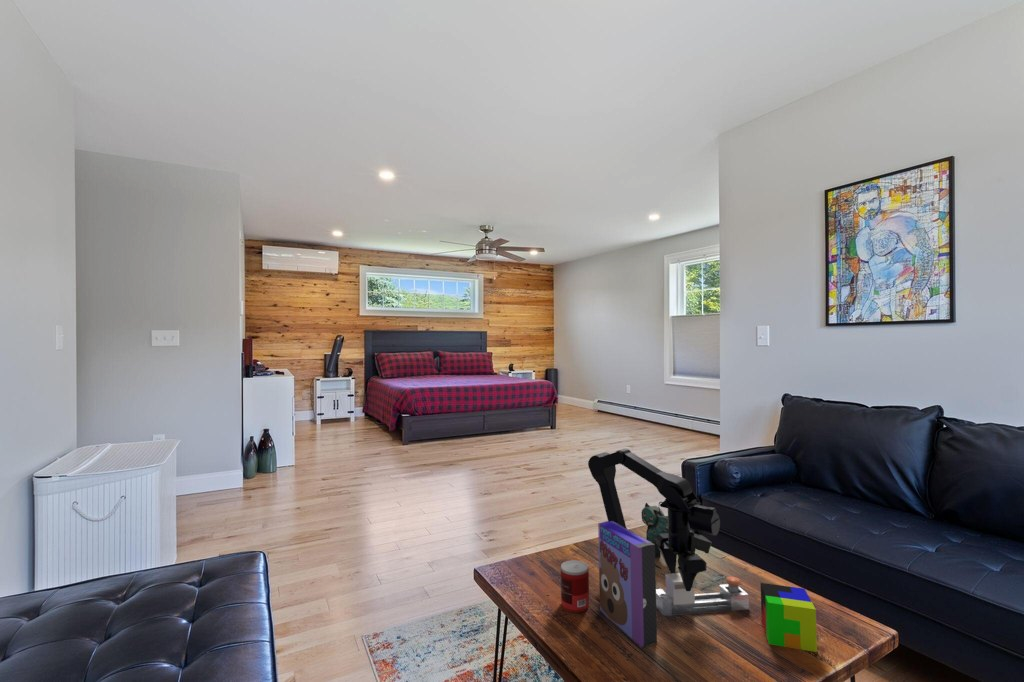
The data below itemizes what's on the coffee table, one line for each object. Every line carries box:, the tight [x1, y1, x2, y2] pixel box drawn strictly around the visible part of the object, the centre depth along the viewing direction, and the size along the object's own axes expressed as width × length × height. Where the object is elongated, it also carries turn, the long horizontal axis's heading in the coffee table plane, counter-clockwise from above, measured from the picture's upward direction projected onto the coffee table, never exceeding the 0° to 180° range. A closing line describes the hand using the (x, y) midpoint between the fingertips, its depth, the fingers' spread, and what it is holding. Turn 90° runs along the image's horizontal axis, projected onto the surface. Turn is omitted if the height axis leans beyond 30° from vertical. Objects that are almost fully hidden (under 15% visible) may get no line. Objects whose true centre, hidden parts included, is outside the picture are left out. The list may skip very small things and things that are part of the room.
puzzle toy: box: [760, 582, 818, 653], centre depth 115 cm, size 10×10×10 cm
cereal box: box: [597, 520, 658, 648], centre depth 120 cm, size 17×5×24 cm, turn 23°
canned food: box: [560, 559, 590, 614], centre depth 130 cm, size 8×8×11 cm
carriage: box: [665, 572, 696, 605], centre depth 128 cm, size 6×5×6 cm
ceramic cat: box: [641, 501, 696, 559], centre depth 155 cm, size 20×6×20 cm, turn 28°
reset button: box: [725, 575, 741, 593], centre depth 130 cm, size 4×4×5 cm
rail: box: [656, 583, 750, 617], centre depth 129 cm, size 24×6×4 cm, turn 96°
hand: (680, 582), depth 128 cm, fingers open, 9 cm apart
